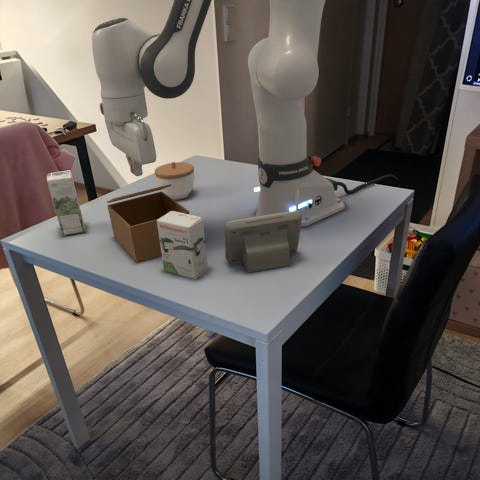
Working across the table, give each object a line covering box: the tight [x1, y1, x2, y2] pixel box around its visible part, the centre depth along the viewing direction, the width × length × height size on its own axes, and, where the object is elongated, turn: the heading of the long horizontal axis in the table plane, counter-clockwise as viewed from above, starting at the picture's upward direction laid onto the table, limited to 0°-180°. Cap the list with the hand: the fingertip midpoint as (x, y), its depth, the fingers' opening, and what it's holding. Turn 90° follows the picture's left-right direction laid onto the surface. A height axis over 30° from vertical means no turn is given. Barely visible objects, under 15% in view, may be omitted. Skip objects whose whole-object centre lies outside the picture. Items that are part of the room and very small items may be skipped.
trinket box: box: [154, 161, 195, 201], centre depth 146 cm, size 11×11×9 cm
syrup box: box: [46, 169, 86, 237], centre depth 129 cm, size 6×6×14 cm
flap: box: [106, 184, 171, 204], centre depth 121 cm, size 8×14×1 cm, turn 119°
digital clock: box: [224, 211, 302, 273], centre depth 109 cm, size 16×9×11 cm, turn 91°
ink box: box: [157, 211, 209, 280], centre depth 108 cm, size 9×5×12 cm, turn 59°
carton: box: [107, 190, 191, 263], centre depth 122 cm, size 16×14×8 cm
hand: (137, 174), depth 117 cm, fingers closed
